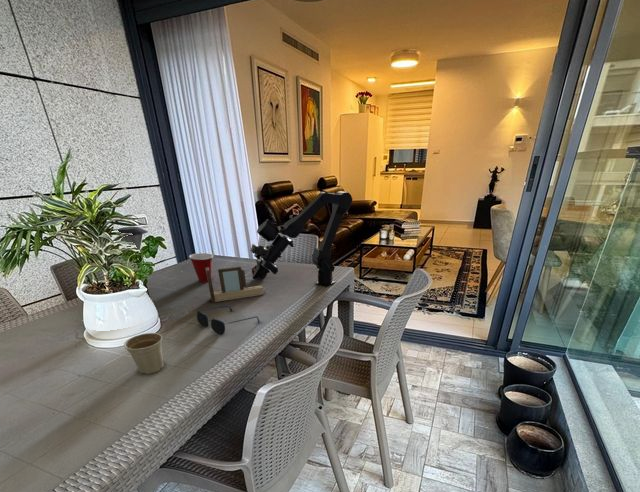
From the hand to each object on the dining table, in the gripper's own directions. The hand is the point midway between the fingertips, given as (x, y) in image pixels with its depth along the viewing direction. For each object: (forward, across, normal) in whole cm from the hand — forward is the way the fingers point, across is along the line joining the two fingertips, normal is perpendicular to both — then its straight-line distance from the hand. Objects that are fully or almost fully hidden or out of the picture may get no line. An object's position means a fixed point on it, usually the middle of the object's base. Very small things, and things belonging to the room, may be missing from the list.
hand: (253, 278), depth 146 cm
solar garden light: (+34, -4, -25) cm, 42 cm away
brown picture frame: (+10, 0, -2) cm, 10 cm away
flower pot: (+32, +48, -23) cm, 63 cm away
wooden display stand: (+10, 0, 0) cm, 10 cm away
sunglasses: (+15, +26, -6) cm, 31 cm away
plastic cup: (+17, -30, -8) cm, 35 cm away
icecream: (0, -20, +10) cm, 22 cm away
